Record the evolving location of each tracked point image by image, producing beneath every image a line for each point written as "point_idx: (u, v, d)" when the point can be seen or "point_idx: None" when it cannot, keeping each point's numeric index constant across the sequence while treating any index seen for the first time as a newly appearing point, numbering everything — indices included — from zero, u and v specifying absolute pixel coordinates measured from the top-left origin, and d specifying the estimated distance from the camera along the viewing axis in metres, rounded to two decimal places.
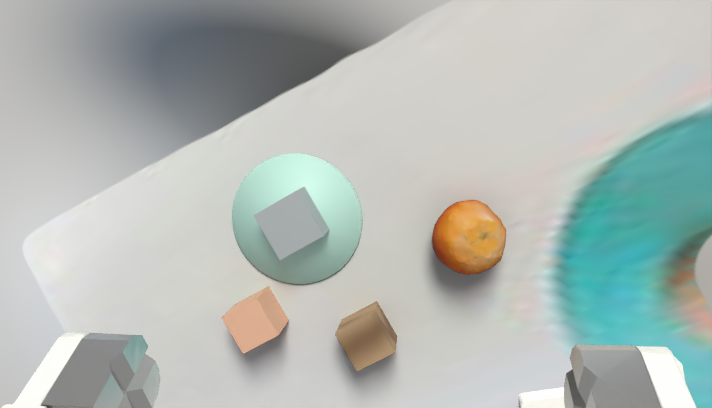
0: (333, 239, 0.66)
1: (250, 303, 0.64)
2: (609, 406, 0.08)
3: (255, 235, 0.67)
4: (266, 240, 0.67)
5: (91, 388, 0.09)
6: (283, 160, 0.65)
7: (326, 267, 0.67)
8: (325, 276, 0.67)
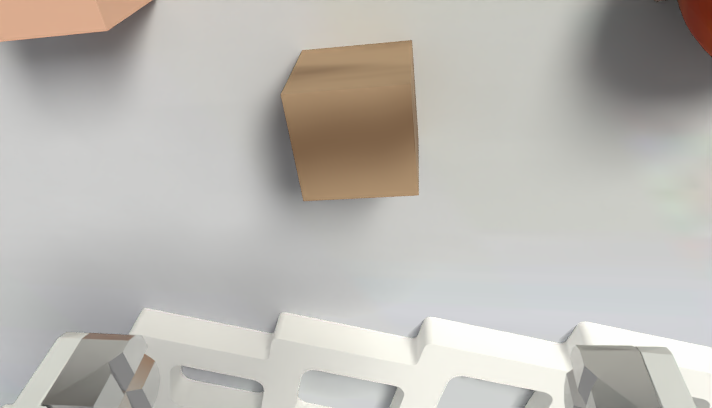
0: None
1: None
2: (609, 406, 0.08)
3: None
4: None
5: (91, 388, 0.09)
6: None
7: None
8: None
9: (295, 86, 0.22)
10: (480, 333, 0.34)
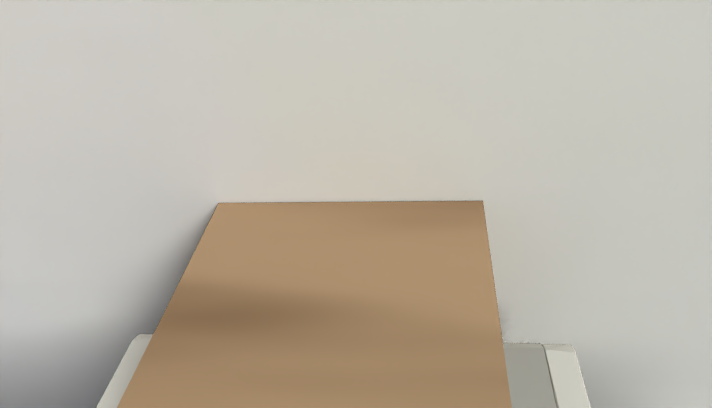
0: None
1: None
2: None
3: None
4: None
5: None
6: None
7: None
8: None
9: (153, 403, 0.07)
10: None
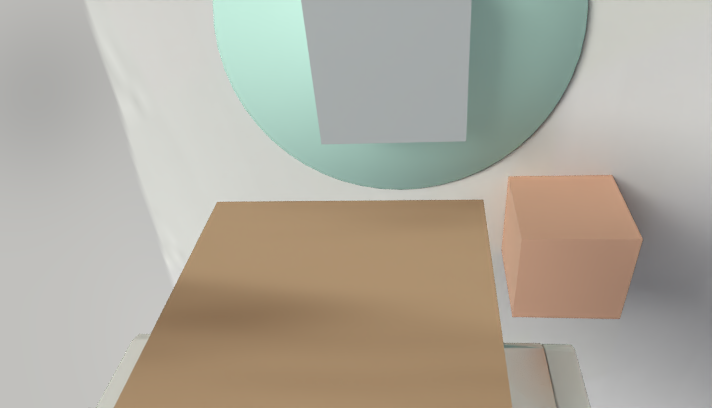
0: None
1: (523, 255, 0.25)
2: None
3: (381, 148, 0.27)
4: None
5: None
6: None
7: (557, 25, 0.23)
8: (578, 40, 0.23)
9: (150, 403, 0.07)
10: None
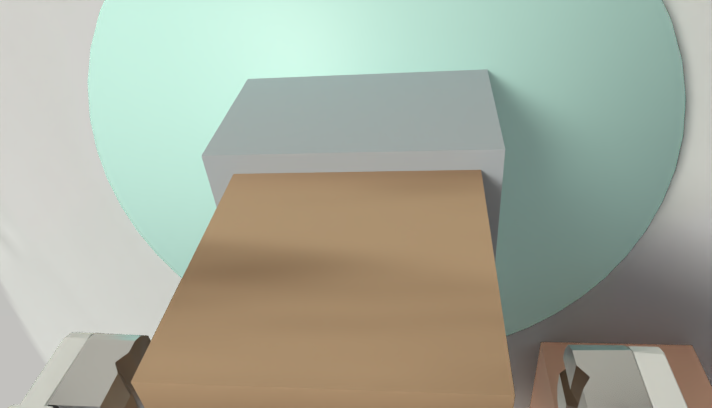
0: (540, 75, 0.13)
1: None
2: (600, 406, 0.08)
3: None
4: None
5: (98, 388, 0.09)
6: (115, 104, 0.15)
7: (630, 161, 0.14)
8: (661, 182, 0.15)
9: (181, 343, 0.08)
10: None
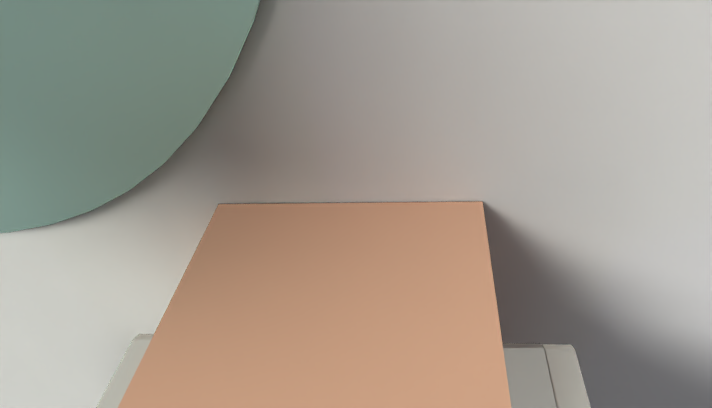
0: None
1: None
2: None
3: None
4: None
5: None
6: None
7: None
8: None
9: None
10: None
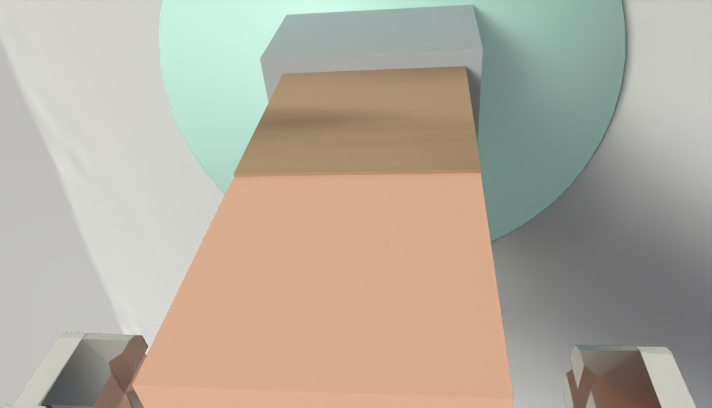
0: (513, 8, 0.17)
1: None
2: (609, 406, 0.08)
3: None
4: None
5: (91, 388, 0.09)
6: (180, 38, 0.19)
7: (586, 80, 0.18)
8: (611, 98, 0.19)
9: (262, 156, 0.12)
10: None
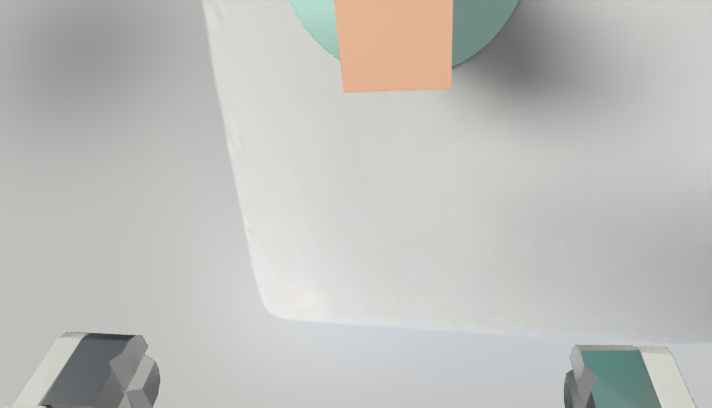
0: None
1: (338, 5, 0.23)
2: (609, 406, 0.08)
3: None
4: None
5: (91, 388, 0.09)
6: None
7: None
8: None
9: None
10: None
